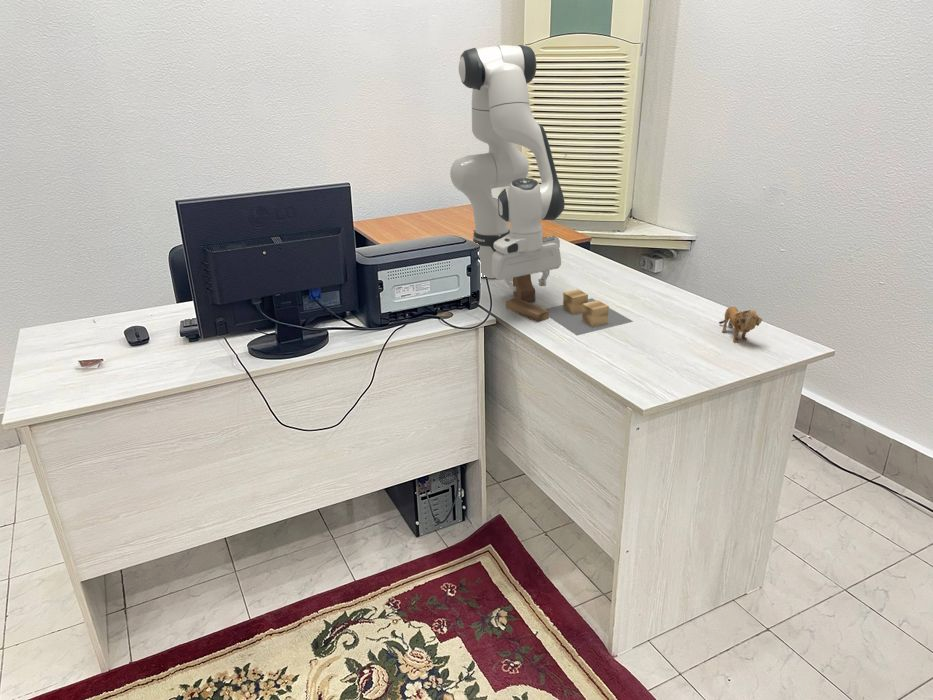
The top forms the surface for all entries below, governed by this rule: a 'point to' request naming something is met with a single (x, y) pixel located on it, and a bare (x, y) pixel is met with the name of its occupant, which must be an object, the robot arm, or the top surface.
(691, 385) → the top surface
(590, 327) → the mat
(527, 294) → the wooden block
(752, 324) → the lion figurine
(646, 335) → the top surface
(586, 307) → the cube
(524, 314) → the lintel
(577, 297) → the cube
